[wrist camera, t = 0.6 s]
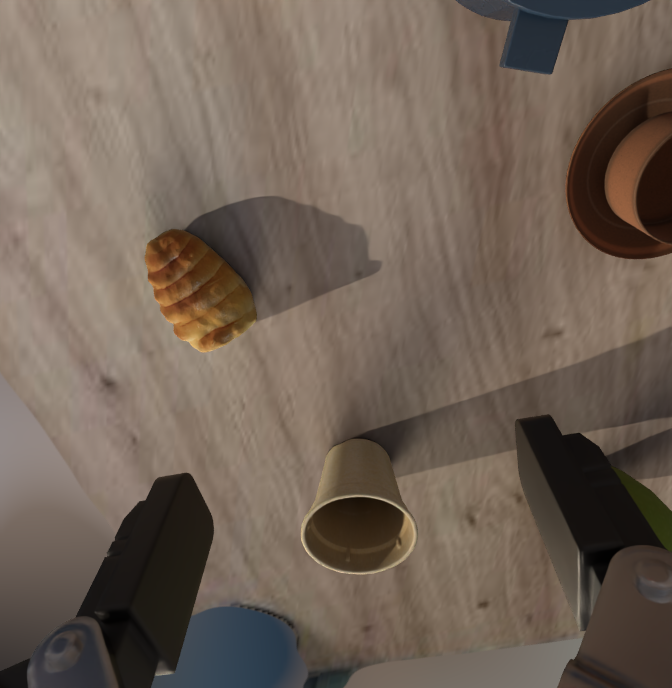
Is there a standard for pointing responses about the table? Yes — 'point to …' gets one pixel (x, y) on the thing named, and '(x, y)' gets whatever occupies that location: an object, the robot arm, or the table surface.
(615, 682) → the robot arm
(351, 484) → the flower pot
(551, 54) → the pot
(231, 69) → the table surface
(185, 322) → the pastry
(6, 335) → the table surface
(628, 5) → the lid
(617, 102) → the cup and saucer
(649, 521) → the apple
